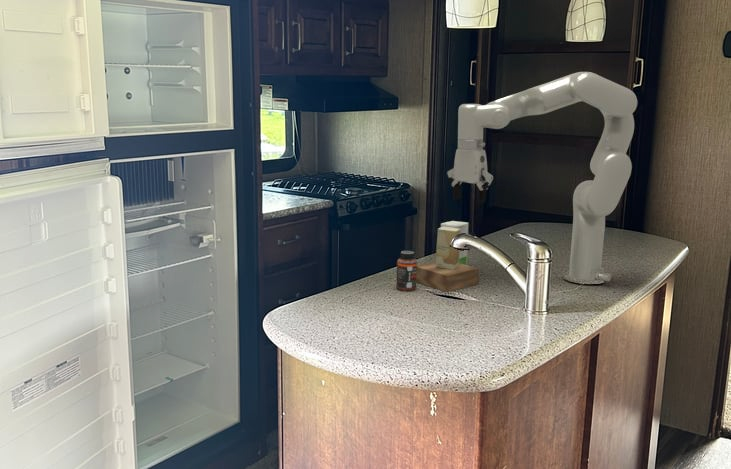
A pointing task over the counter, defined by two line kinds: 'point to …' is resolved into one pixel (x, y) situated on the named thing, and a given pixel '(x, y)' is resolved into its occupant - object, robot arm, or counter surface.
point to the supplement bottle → (406, 271)
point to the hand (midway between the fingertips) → (469, 200)
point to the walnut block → (447, 276)
